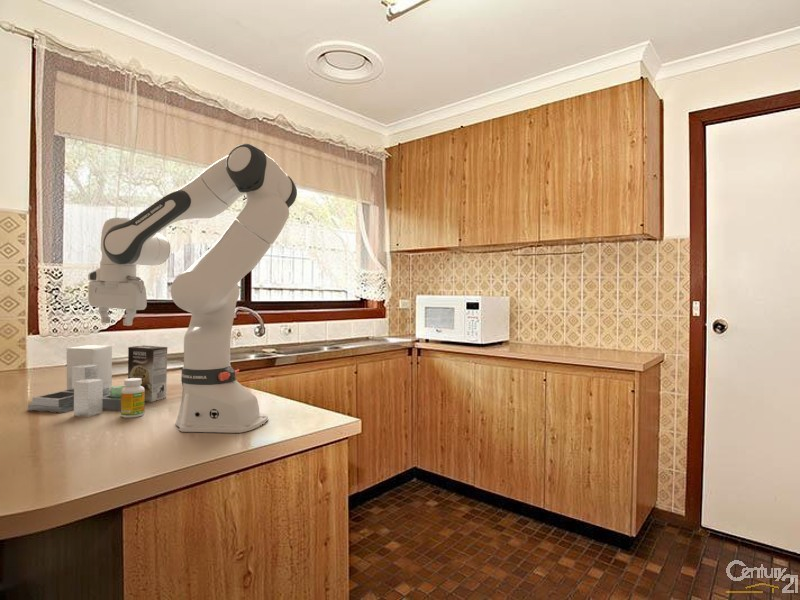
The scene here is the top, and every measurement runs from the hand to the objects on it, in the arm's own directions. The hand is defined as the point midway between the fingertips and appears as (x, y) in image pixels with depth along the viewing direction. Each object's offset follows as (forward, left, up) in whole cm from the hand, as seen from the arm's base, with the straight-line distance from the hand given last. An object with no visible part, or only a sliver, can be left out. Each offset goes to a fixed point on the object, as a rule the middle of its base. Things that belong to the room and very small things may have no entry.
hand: (116, 324), depth 130 cm
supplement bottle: (-11, +6, -24) cm, 27 cm away
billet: (+1, +8, -24) cm, 25 cm away
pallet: (+14, 0, -24) cm, 28 cm away
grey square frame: (0, -1, -24) cm, 24 cm away
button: (0, -1, -21) cm, 21 cm away
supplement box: (+22, -13, -24) cm, 35 cm away
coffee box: (-1, -11, -24) cm, 26 cm away
